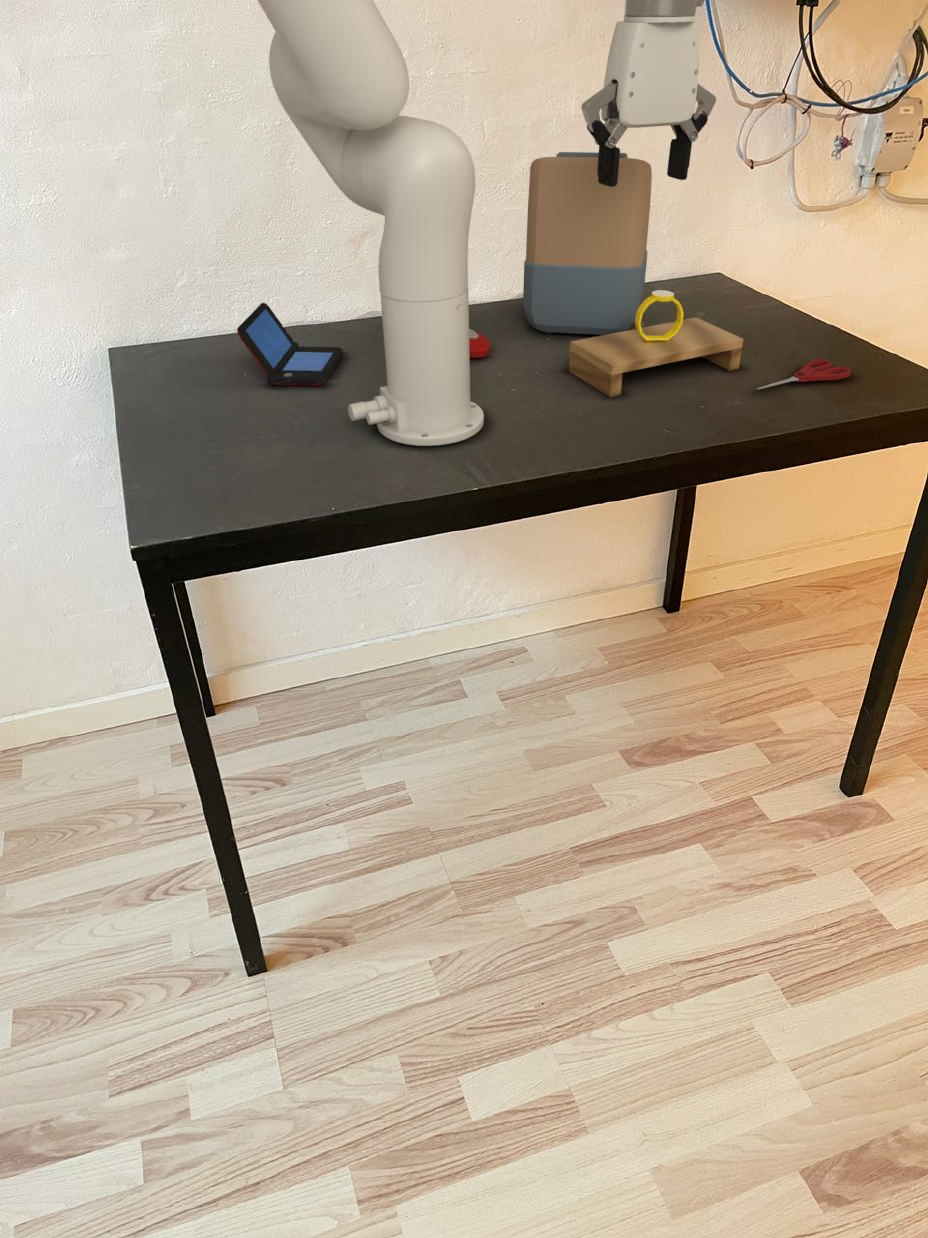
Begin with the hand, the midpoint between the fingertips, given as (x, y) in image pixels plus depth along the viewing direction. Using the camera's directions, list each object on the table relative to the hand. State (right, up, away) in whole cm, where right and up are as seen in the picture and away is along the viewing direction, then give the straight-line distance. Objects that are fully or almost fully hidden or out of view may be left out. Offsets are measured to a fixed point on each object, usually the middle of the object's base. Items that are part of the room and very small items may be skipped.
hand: (642, 181), depth 105 cm
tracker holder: (-22, -14, +21) cm, 33 cm away
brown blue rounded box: (-3, -7, +29) cm, 30 cm away
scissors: (+21, -22, +8) cm, 31 cm away
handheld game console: (-44, -18, +15) cm, 50 cm away
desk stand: (+4, -19, +12) cm, 23 cm away
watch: (+4, -16, +10) cm, 19 cm away
